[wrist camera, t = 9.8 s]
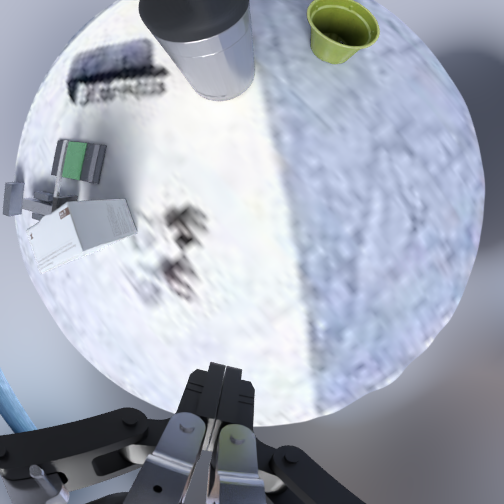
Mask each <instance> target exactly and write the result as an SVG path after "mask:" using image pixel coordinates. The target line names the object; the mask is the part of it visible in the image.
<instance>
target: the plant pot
mask: <svg viewBox="0 0 504 504" xmlns="http://www.w3.org/2000/svg"><path fill="white" fill-rule="evenodd" d="M307 19H308V22H309V24H310V26H311V49H312V51H313V53H314V54H315V55H316V56H317V57H318V58H319V59H321V60H322V61H326V62H329V63H331V64H341V63H344V62H345V61H347V60H348V59H349V58H350V57H351V56H352V55H354V54H355V53H356V52H357V51H358V50H360V49H363V48H367V47H369V46H371V45H373V44H374V43H375V42H376V41H377V39H378V37H379V34H380V29H379V25H378V23H377V20H376V19H375V17H374V16H373V15H372V14H371V12H370V11H369V10H368V9H366V8H365V7H364V6H362V5H361V4H359V3H357V2H355V1H353V0H314V1H313V2H312V3H311V4H310V5H309V7H308V9H307ZM340 41H342V42H343V43H344V44H345V45H344V44H342V43H341V42H340Z"/></svg>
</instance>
